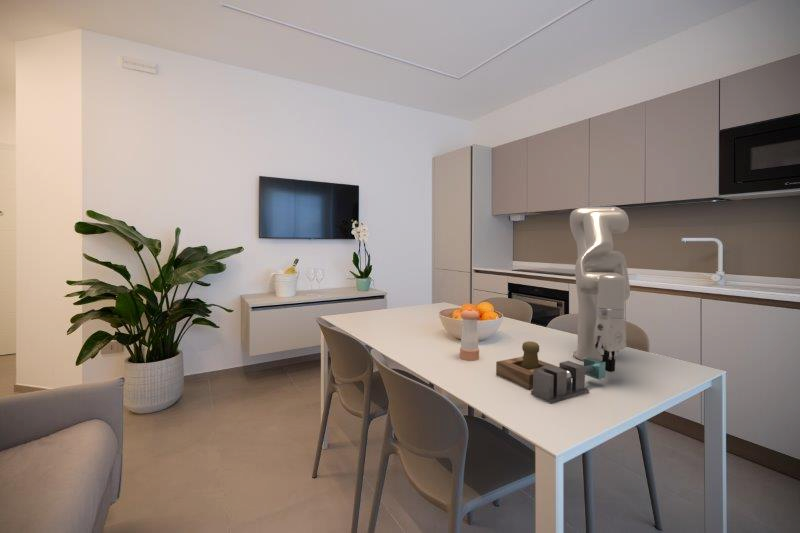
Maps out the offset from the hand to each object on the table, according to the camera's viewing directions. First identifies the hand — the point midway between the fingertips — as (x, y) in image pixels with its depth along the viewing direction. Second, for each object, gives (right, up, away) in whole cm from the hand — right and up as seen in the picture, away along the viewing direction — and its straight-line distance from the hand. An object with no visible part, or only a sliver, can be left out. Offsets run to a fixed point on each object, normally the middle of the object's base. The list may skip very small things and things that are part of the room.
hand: (608, 370), depth 114 cm
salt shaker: (-40, -2, +23) cm, 46 cm away
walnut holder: (-25, -3, +2) cm, 25 cm away
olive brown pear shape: (-25, -2, +1) cm, 25 cm away
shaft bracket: (-20, -4, -10) cm, 23 cm away
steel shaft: (-12, -1, -6) cm, 14 cm away
